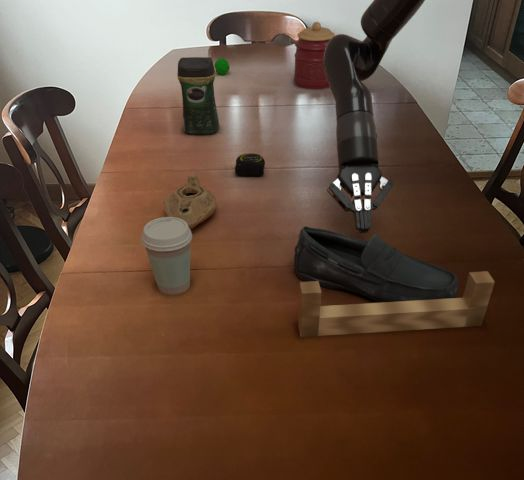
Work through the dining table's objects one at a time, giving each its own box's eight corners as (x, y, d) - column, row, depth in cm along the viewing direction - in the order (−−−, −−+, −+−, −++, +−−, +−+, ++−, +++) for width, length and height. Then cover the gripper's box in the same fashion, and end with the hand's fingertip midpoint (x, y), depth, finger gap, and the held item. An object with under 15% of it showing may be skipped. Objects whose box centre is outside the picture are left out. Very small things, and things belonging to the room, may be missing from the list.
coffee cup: (195, 270, 111) (189, 212, 103) (199, 297, 104) (193, 238, 96) (149, 275, 110) (139, 217, 102) (150, 302, 103) (140, 243, 95)
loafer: (450, 322, 98) (463, 271, 91) (284, 291, 105) (284, 241, 99) (456, 287, 105) (469, 238, 98) (300, 260, 113) (302, 212, 106)
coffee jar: (220, 125, 163) (216, 53, 151) (217, 136, 158) (212, 62, 145) (185, 125, 164) (178, 53, 152) (181, 136, 158) (173, 62, 146)
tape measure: (234, 179, 139) (233, 164, 136) (238, 166, 144) (237, 151, 141) (263, 180, 138) (263, 164, 136) (266, 167, 143) (266, 152, 141)
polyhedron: (232, 74, 197) (232, 58, 194) (222, 77, 194) (221, 62, 191) (222, 71, 199) (221, 55, 196) (211, 74, 197) (210, 59, 194)
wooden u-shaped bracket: (474, 315, 99) (487, 271, 93) (481, 326, 97) (494, 282, 91) (298, 326, 98) (299, 281, 92) (300, 338, 96) (301, 293, 90)
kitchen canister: (285, 83, 189) (286, 22, 177) (313, 74, 195) (315, 14, 184) (315, 93, 182) (317, 30, 170) (343, 83, 188) (347, 21, 176)
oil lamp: (166, 242, 118) (161, 206, 113) (165, 206, 129) (160, 172, 124) (221, 237, 119) (218, 201, 114) (215, 202, 130) (212, 168, 125)
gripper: (385, 148, 116) (392, 235, 115) (319, 151, 116) (325, 238, 115) (396, 132, 109) (403, 224, 108) (325, 135, 108) (332, 228, 107)
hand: (363, 231), depth 111 cm, fingers closed
